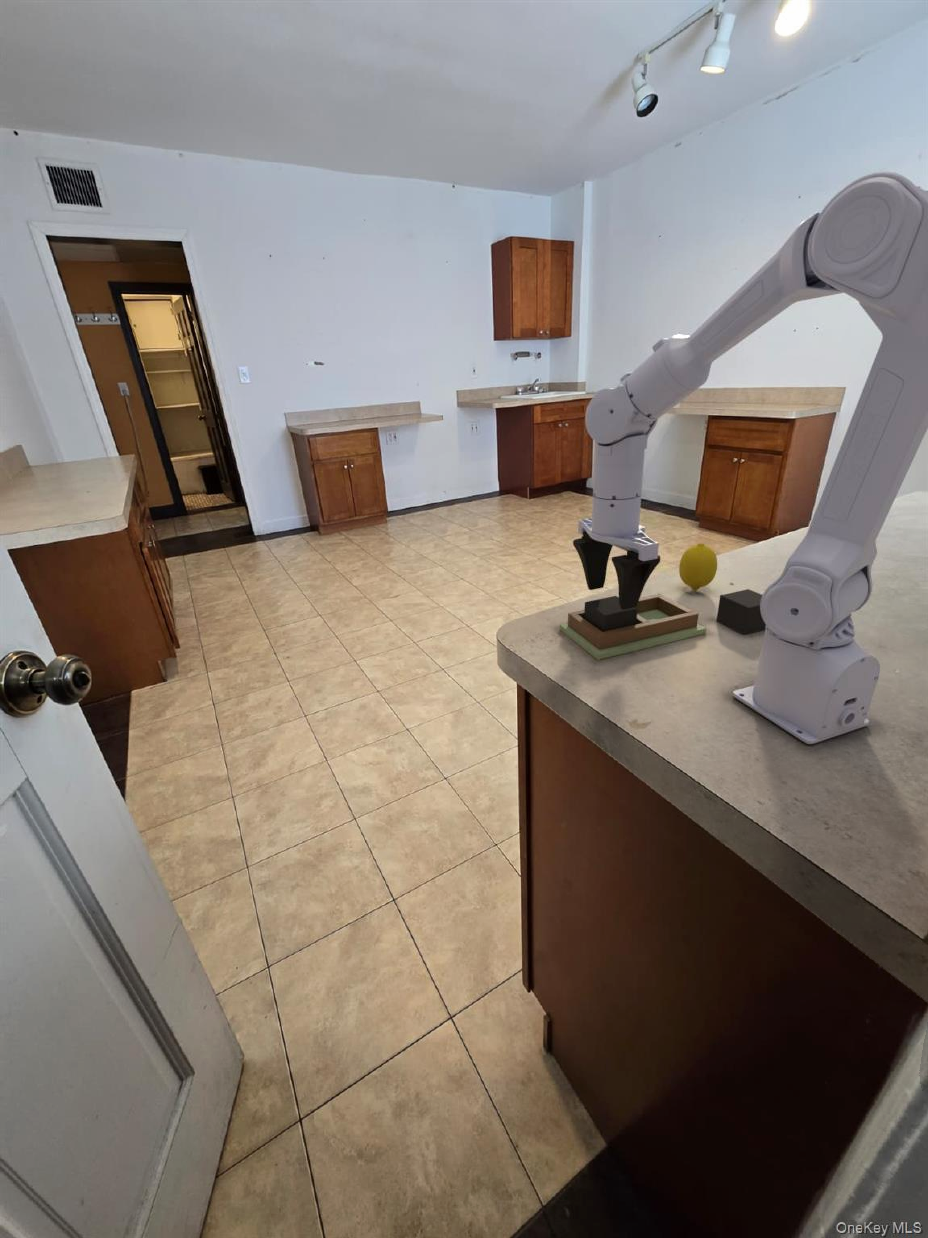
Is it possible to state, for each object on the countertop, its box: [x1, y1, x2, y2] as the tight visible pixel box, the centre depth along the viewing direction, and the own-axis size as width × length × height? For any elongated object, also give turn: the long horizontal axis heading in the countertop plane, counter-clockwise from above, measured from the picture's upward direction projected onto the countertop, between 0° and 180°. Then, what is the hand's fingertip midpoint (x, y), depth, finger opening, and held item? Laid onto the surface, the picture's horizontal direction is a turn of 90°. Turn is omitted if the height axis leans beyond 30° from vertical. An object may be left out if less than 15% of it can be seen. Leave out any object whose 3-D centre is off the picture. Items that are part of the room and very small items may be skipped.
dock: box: [559, 593, 707, 661], centre depth 71 cm, size 10×17×3 cm, turn 109°
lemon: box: [678, 542, 718, 591], centre depth 82 cm, size 6×6×8 cm
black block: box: [715, 588, 766, 636], centre depth 71 cm, size 5×5×4 cm
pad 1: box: [583, 595, 637, 632], centre depth 70 cm, size 5×5×4 cm
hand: (611, 597), depth 68 cm, fingers open, 7 cm apart
